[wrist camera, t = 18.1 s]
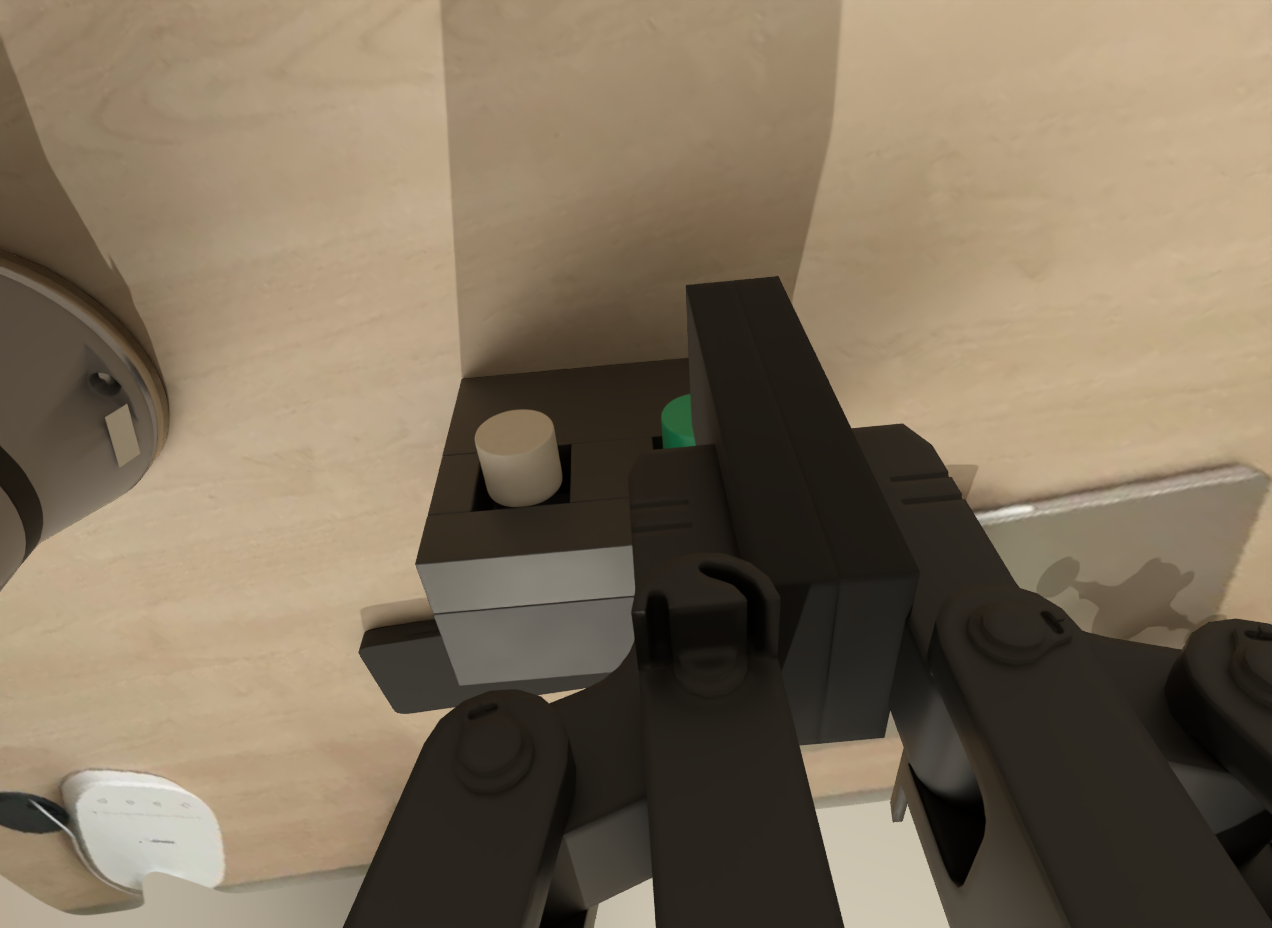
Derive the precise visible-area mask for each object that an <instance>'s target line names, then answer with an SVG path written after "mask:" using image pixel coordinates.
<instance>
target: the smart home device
mask: <svg viewBox="0 0 1272 928" xmlns="http://www.w3.org/2000/svg"><path fill="white" fill-rule="evenodd" d="M359 655H360V657H361V658H362V660H363V662H364V663H365V665H366V666H367V668H368V670H369V671H370V673H371V674H372V676H373V678H374V679H375V681H376V682H377V684H378V686H379V687H380V689H381V690H382V692H383V694H384V695H385V697H386V698H387V700H388V701H389V703H390V705H391V706H392V708H393V709H394V710H395V712H397V713H401V714H409V713H417V712H424V711H431V710H438V709H445V708H452V707H457V706H458V705H459V704H460V703H462V702H463V701H465V700H467V699H470V698H473V697H475V696H478V695H480V694H483V693H485V692H488V691H493V690H510V689H518V690H521V691H525V692H528V693H531V694H534V695H542V694H549V693H555V692H562V691H569V690H576V689H583V688H588V687H590V686H592V685H594V684H596V683H598V682H600V681H601V680H603V679H605V678H606V677H607V676H608V675H609V674H611V673H612V672H608V673H597V674H585V675H574V676H563V677H552V678H540V679H529V680H518V681H507V682H495V683H484V684H473V685H462V686H460V685H459V683H458V680H457V678H456V675H455V672H454V669H453V667H452V664H451V661H450V658H449V656H448V653H447V650H446V647H445V645H444V642H443V639H442V636H441V634H440V631H439V628H438V625H437V623H436V620H430V621H424V622H417V623H410V624H404V625H397V626H391V627H384V628H378V629H373V630H370V631H367V632H366V633H364V635H363V639H362V642H361V646H360V649H359Z"/></svg>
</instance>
